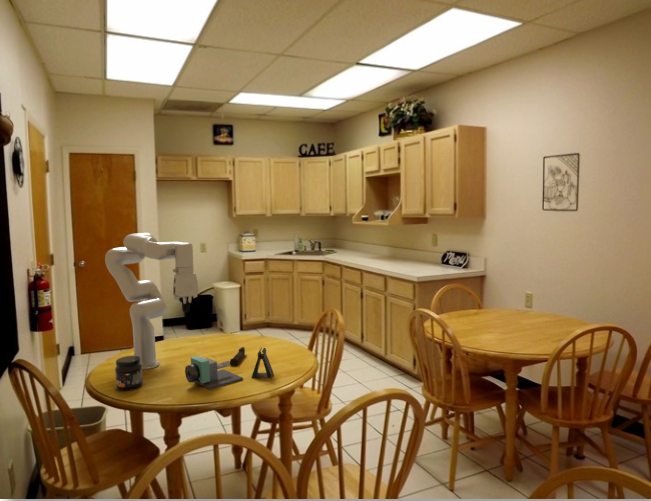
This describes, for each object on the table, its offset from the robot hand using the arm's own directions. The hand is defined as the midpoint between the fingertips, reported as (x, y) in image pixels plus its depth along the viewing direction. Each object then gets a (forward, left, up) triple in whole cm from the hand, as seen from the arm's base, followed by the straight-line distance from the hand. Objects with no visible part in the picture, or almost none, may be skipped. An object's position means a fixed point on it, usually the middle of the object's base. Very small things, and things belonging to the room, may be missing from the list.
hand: (186, 311), depth 207 cm
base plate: (+14, +6, -29) cm, 33 cm away
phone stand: (+24, +23, -29) cm, 44 cm away
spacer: (+14, -2, -27) cm, 30 cm away
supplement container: (-6, -24, -29) cm, 38 cm away
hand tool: (-3, +28, -30) cm, 41 cm away
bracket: (+14, +2, -28) cm, 31 cm away
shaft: (+14, +3, -27) cm, 30 cm away
